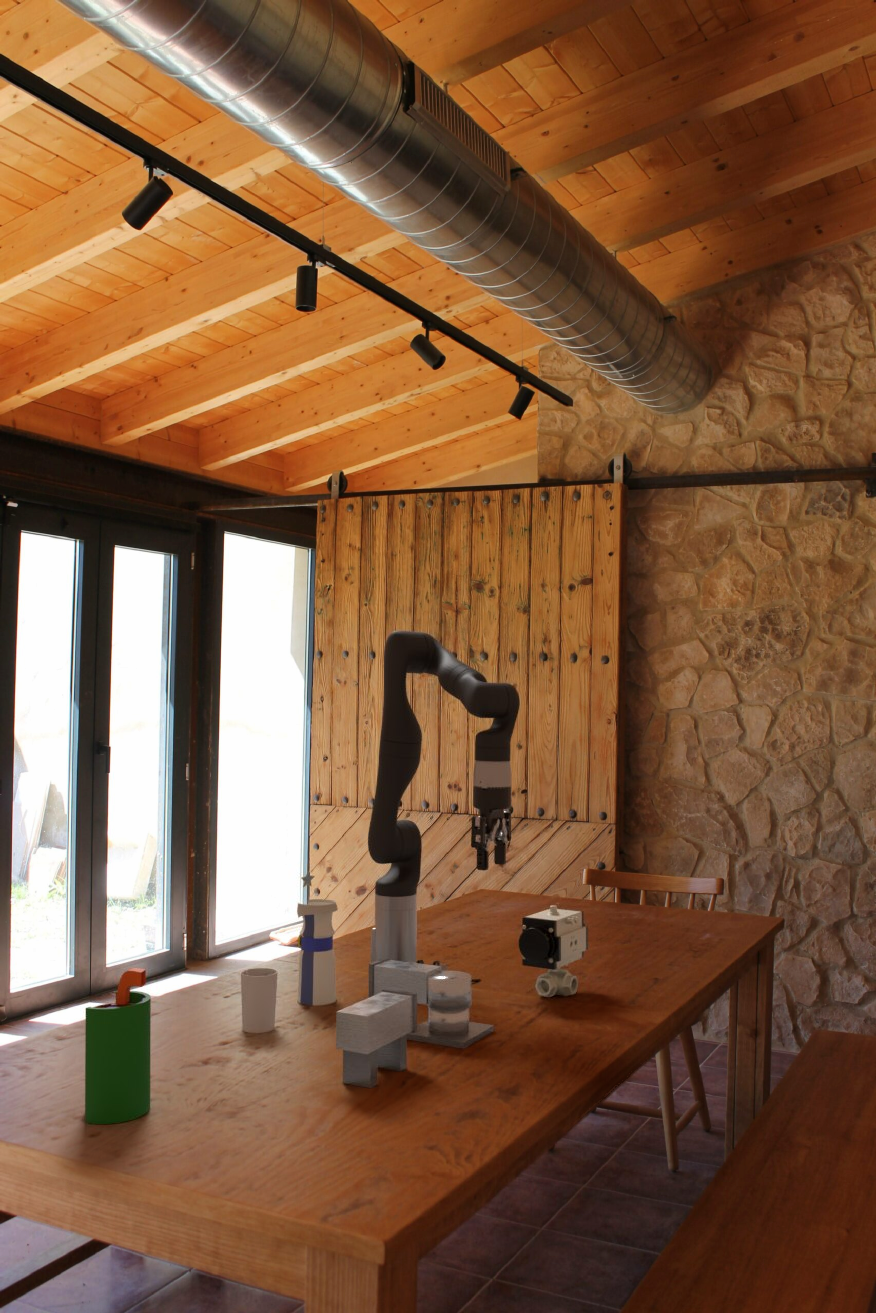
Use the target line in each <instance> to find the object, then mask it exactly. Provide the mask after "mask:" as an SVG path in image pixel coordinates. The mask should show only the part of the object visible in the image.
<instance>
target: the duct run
mask: <svg viewBox="0 0 876 1313" xmlns="http://www.w3.org/2000/svg"><path fill="white" fill-rule="evenodd" d="M335 1013H336V1014H335V1015H336V1017H335V1019H336V1020H335V1021H336V1022H335V1023H336V1024H335V1027H336V1028H335V1029H336V1030H335V1041H336V1042H335V1050H341V1051H342V1084H347V1085H352V1086H357V1087H362V1088H366V1089H367V1088H368V1089H372V1088H374V1087H375V1086H376V1085H378V1069H385V1070H391V1071H397V1072H402V1071H403V1070H405V1069H407V1054H408V1053H407V1049H408V1048H407V1044H408V1043H407V1034H408V1033H410V1032H411V1033H416V1032H417V1025H418V1003H417V993H413V992H406V991H399V990H392V989H385V988H384V989H382V992H381V993H379V994H377V995H374V996H372V997H370V998H369V997H367V998H365V999H362V1000H361V1001H357V1002H356V1003H353V1004H352V1005H349V1006H345V1007H344V1008H342V1009H339V1010H337V1011H336V1012H335Z"/></svg>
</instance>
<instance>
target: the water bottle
mask: <svg viewBox="0 0 876 1313" xmlns="http://www.w3.org/2000/svg"><path fill="white" fill-rule="evenodd" d="M300 878H301V880H302V881H303V885H302V888H305V887H306V886H309V887H312V880H313V879H314V878H315V875H311V874H310V872H309V870H307V872H306V875H304V876H301V877H300ZM337 911H338V904H337V901H336V900H333V899H332V900H331V899H322V898H320V899H319V898H313V899H308V900H307V904H304V903H303V904H302V903H299V902H297V908H296V913H297V914H296V915H297V917H298V919H299V918H300V917H302V921H303V923H302V927H301V929H300V931H299V935H298V937H297V945H298V948H299V949H300V951H299V956H298V980H297V981H298V982H297V997H296V998H297V999H296V1000H297V1001H296V1002H297V1003H299V1004H301V1005H304V1006H327V1005H331V1004H333V1003H336V1001H337V991H336V989H337V988H336V956H335V955H336V954H335V950H334V940H333V939H334V938H333V937H334V935H335V933H336V931H335V930H334V928H333V923H332V922H333V914H334V913H335V912H337Z"/></svg>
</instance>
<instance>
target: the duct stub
mask: <svg viewBox="0 0 876 1313" xmlns="http://www.w3.org/2000/svg"><path fill="white" fill-rule="evenodd" d="M493 1032H495V1025H494V1024H488V1023H481V1022H474V1021H470V1007H469V1008H466V1009H462V1010H437V1009H432V1008H430V1007H428V1019H427V1020H425V1021H423V1022H422V1023H419V1024H417V1032H416V1033H411V1032H410V1033H408V1034H407V1040H409V1041H414V1042H422V1043H426V1044H431V1045H437V1046H445V1047H452V1048H456V1049H466V1048H467V1047H468V1048H469V1047H470V1046H471V1045H472V1044H474V1043H476V1042H478V1041H479V1040H481V1039H483V1038H484V1037H486V1036H487V1035H489V1034H491V1033H493Z"/></svg>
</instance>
